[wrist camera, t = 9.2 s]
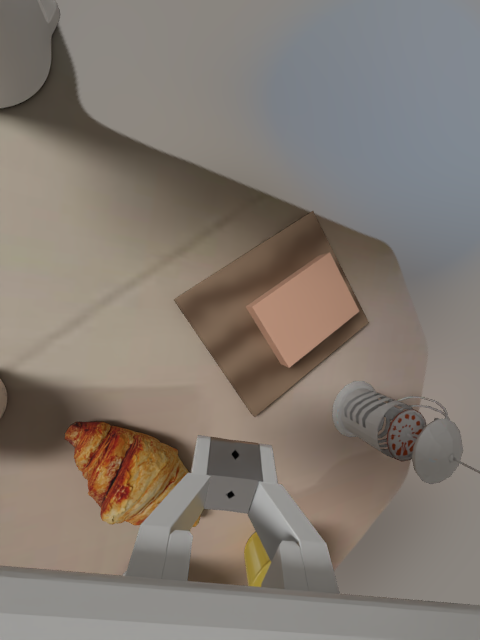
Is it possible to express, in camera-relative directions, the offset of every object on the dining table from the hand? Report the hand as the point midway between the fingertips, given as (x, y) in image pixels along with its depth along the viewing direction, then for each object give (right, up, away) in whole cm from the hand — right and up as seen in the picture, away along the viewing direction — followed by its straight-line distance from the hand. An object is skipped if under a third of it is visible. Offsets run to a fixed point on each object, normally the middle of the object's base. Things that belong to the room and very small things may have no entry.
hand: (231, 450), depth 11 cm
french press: (+21, -9, +35) cm, 42 cm away
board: (+6, +6, +29) cm, 30 cm away
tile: (+4, +3, +26) cm, 26 cm away
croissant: (-13, -14, +24) cm, 31 cm away
